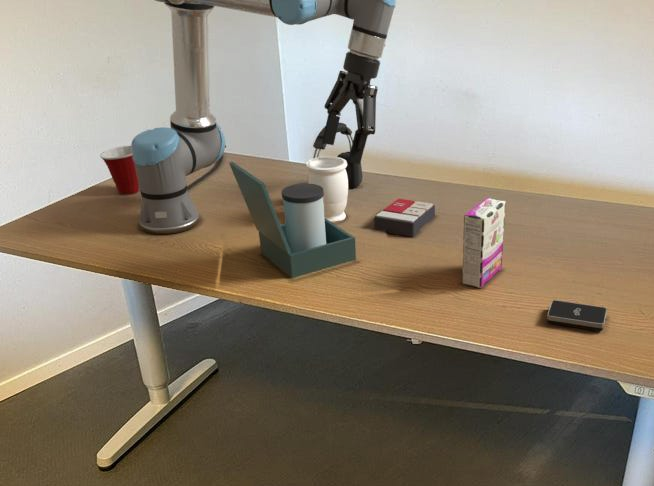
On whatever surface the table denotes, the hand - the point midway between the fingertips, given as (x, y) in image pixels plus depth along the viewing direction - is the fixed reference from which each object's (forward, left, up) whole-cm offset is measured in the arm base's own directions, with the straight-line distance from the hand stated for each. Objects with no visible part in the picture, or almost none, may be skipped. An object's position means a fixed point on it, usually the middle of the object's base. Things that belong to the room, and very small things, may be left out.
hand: (340, 153), depth 163 cm
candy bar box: (+21, +29, -23) cm, 43 cm away
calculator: (-12, +17, -23) cm, 31 cm away
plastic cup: (-50, -59, -23) cm, 81 cm away
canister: (+5, -9, -22) cm, 25 cm away
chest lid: (+9, -18, -8) cm, 22 cm away
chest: (+5, -9, -23) cm, 25 cm away
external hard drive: (+43, +43, -23) cm, 65 cm away
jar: (-19, -2, -23) cm, 30 cm away
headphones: (-36, +1, -23) cm, 43 cm away
